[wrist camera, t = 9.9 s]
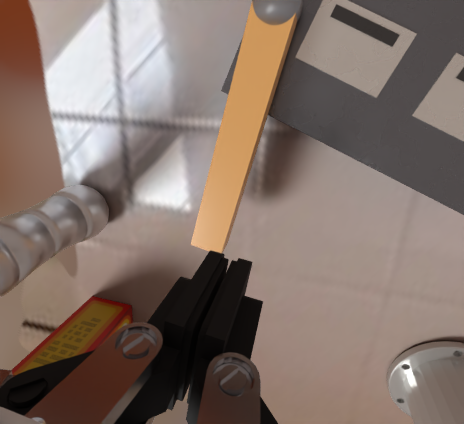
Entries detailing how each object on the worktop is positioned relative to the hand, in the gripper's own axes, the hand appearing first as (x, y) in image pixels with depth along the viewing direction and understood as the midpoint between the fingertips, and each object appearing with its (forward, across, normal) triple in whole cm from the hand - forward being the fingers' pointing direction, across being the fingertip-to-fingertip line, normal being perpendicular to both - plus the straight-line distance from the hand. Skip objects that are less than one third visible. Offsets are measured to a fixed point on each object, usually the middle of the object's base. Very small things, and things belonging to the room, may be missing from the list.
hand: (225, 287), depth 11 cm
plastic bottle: (+21, +22, +10) cm, 32 cm away
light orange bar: (+16, +3, -4) cm, 17 cm away
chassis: (+21, -7, -10) cm, 24 cm away
